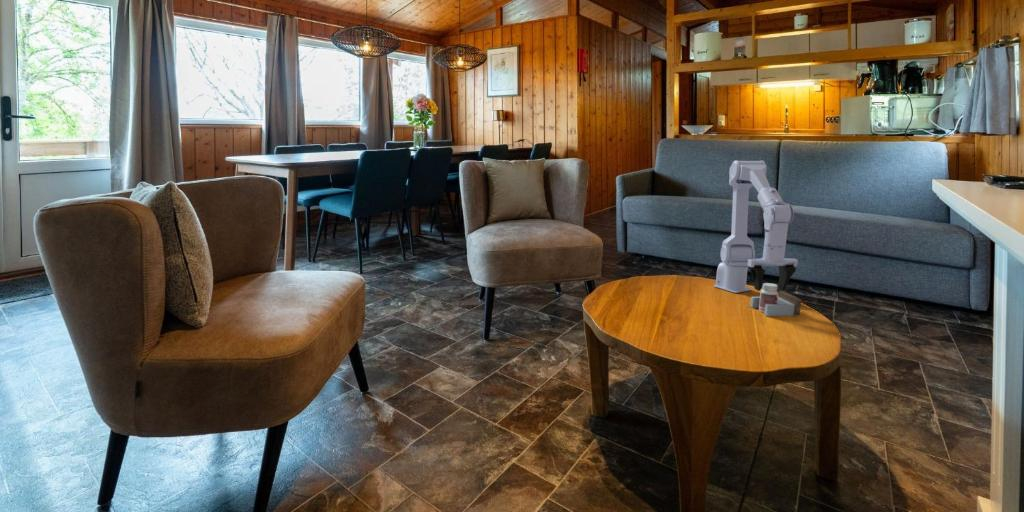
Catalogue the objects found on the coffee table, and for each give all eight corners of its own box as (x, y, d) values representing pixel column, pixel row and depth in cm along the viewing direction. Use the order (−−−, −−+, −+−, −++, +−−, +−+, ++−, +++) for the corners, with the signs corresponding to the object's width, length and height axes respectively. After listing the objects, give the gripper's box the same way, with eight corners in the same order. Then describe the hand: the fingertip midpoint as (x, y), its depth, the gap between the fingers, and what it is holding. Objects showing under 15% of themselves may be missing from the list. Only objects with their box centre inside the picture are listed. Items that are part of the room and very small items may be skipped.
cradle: (766, 316, 157) (767, 305, 157) (750, 306, 166) (751, 296, 165) (793, 315, 158) (794, 304, 157) (776, 305, 167) (777, 296, 166)
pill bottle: (777, 314, 159) (781, 287, 158) (760, 313, 160) (763, 286, 158) (773, 309, 164) (776, 283, 162) (756, 308, 165) (759, 282, 163)
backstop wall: (794, 316, 158) (796, 299, 157) (776, 306, 166) (778, 291, 165) (799, 315, 158) (801, 299, 157) (781, 306, 167) (783, 291, 166)
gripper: (758, 248, 153) (753, 293, 156) (806, 247, 154) (800, 292, 157) (745, 243, 160) (741, 287, 163) (791, 242, 161) (786, 286, 164)
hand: (769, 289), depth 161 cm, fingers open, 7 cm apart
